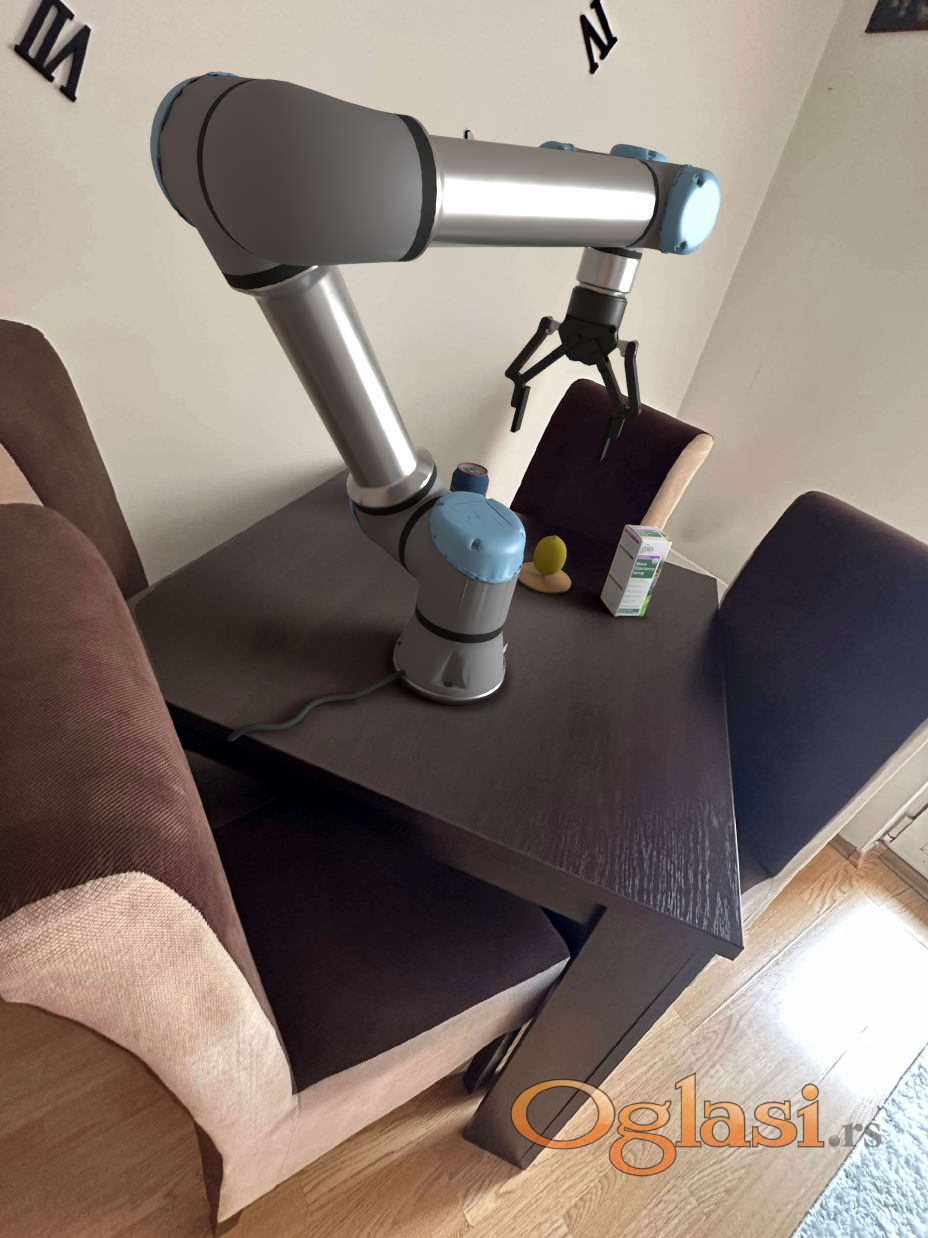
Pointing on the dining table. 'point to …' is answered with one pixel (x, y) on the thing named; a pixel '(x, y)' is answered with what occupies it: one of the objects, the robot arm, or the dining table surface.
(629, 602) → the syrup box
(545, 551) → the lemon
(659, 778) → the dining table surface
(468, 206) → the robot arm
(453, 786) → the dining table surface
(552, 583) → the coaster
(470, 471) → the soda can
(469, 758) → the dining table surface
